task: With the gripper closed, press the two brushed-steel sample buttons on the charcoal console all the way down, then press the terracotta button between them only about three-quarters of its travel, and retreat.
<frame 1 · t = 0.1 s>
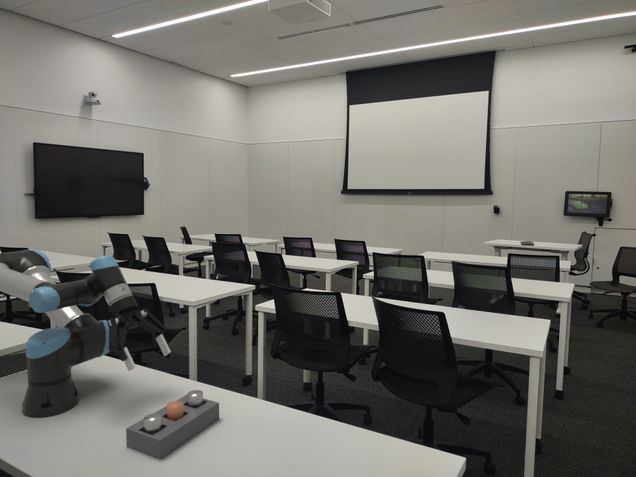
hand: (150, 361, 136), 15 cm above the table, tool tilted 35°, fingers open, 13 cm apart
steel button far: (195, 400, 132), point 6 cm above the table, slide at 0.0 cm
terracotta button: (175, 412, 124), point 6 cm above the table, slide at 0.0 cm
button console: (175, 431, 125), on the table
steel button near: (152, 425, 117), point 6 cm above the table, slide at 0.0 cm
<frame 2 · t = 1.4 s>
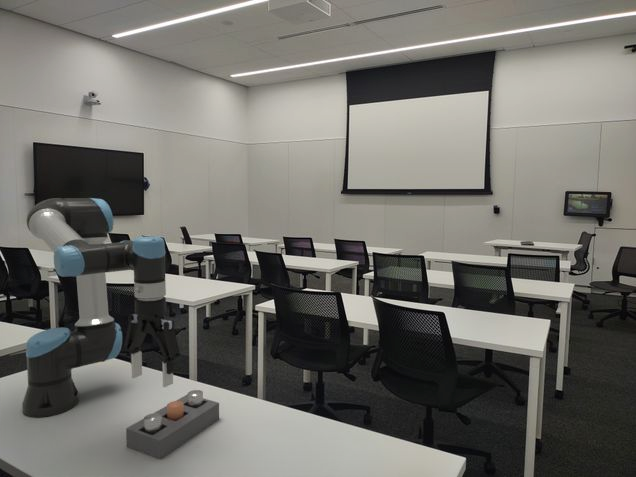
hand: (152, 380, 116), 18 cm above the table, tool pointing down, fingers open, 10 cm apart
nothing on the table moved.
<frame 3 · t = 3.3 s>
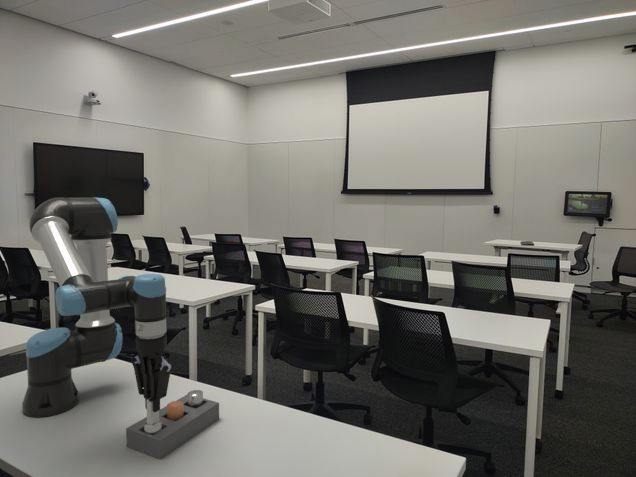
hand: (153, 421, 117), 7 cm above the table, tool pointing down, fingers closed
steel button near: (153, 430, 118), point 4 cm above the table, slide at 1.5 cm, touching gripper
everything else where it was.
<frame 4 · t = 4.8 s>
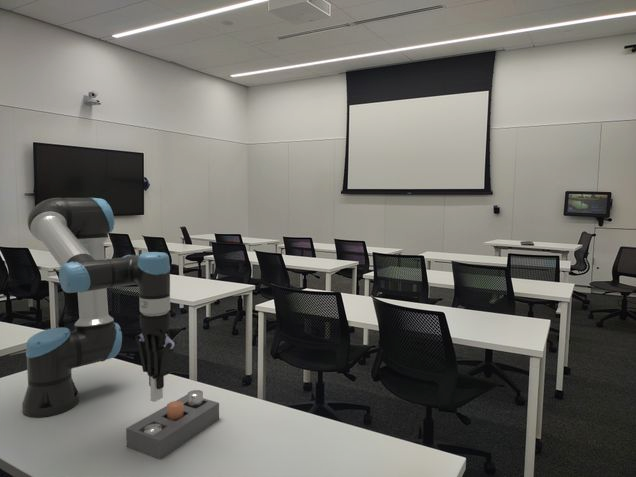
hand: (156, 399, 118), 12 cm above the table, tool pointing down, fingers closed
steel button near: (153, 436, 118), point 3 cm above the table, slide at 3.0 cm
everything else where it was.
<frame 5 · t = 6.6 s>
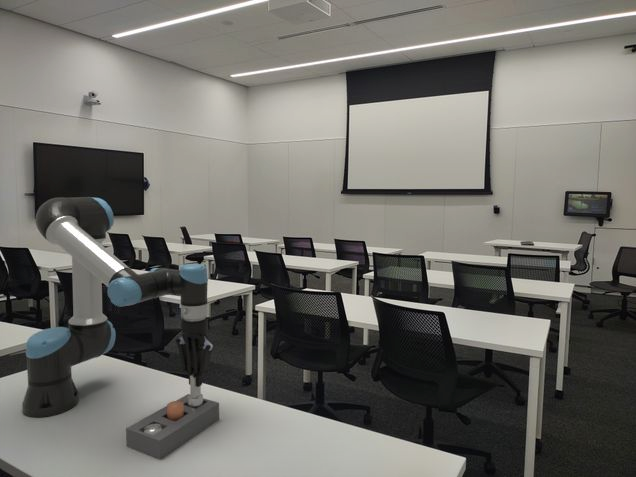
hand: (195, 395, 131), 7 cm above the table, tool pointing down, fingers closed
steel button far: (195, 403, 132), point 5 cm above the table, slide at 1.0 cm, touching gripper
everything else where it was.
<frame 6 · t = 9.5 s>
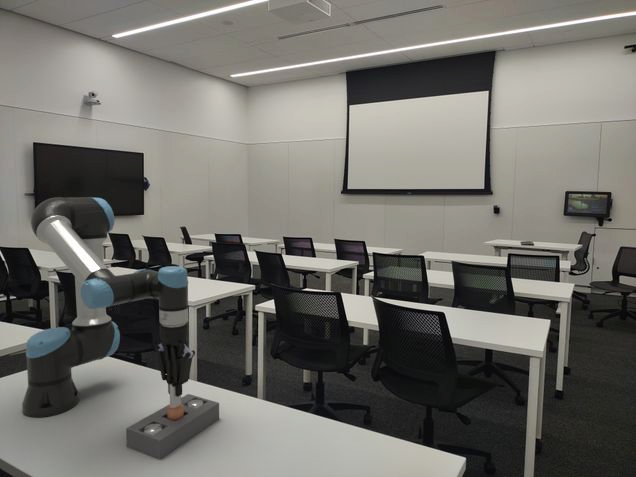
hand: (175, 405, 124), 8 cm above the table, tool pointing down, fingers closed
steel button far: (195, 410, 132), point 3 cm above the table, slide at 3.0 cm
terracotta button: (175, 414, 125), point 5 cm above the table, slide at 0.6 cm, touching gripper
everything else where it was.
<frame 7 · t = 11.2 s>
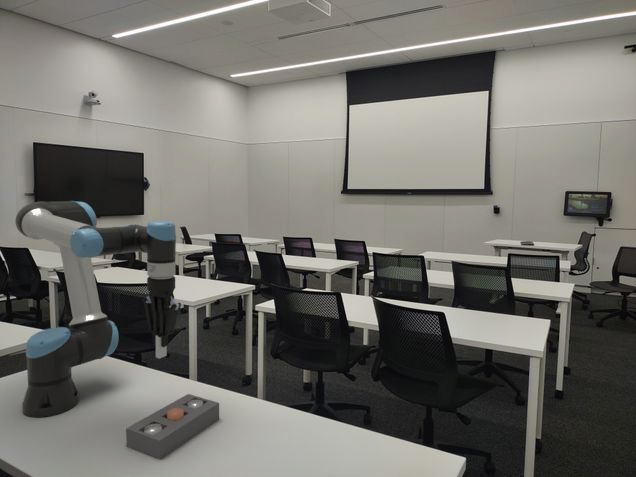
hand: (161, 356, 128), 20 cm above the table, tool pointing down, fingers closed
terracotta button: (175, 419, 125), point 4 cm above the table, slide at 2.1 cm
everything else where it was.
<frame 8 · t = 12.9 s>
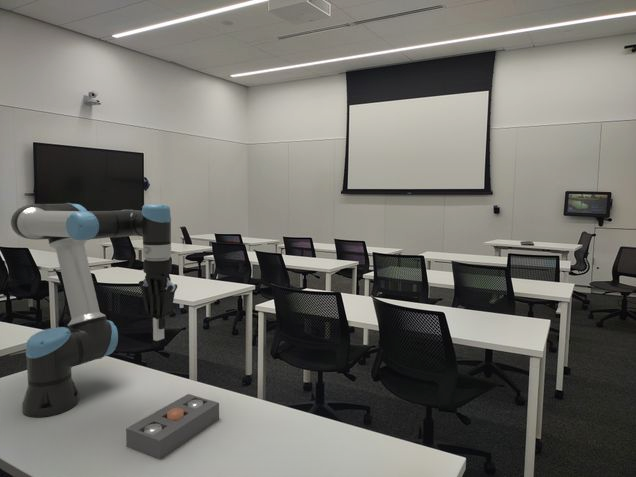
hand: (158, 339, 129), 24 cm above the table, tool pointing down, fingers closed
nothing on the table moved.
at the end: steel button near slide at 3.0 cm; steel button far slide at 3.0 cm; terracotta button slide at 2.1 cm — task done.
